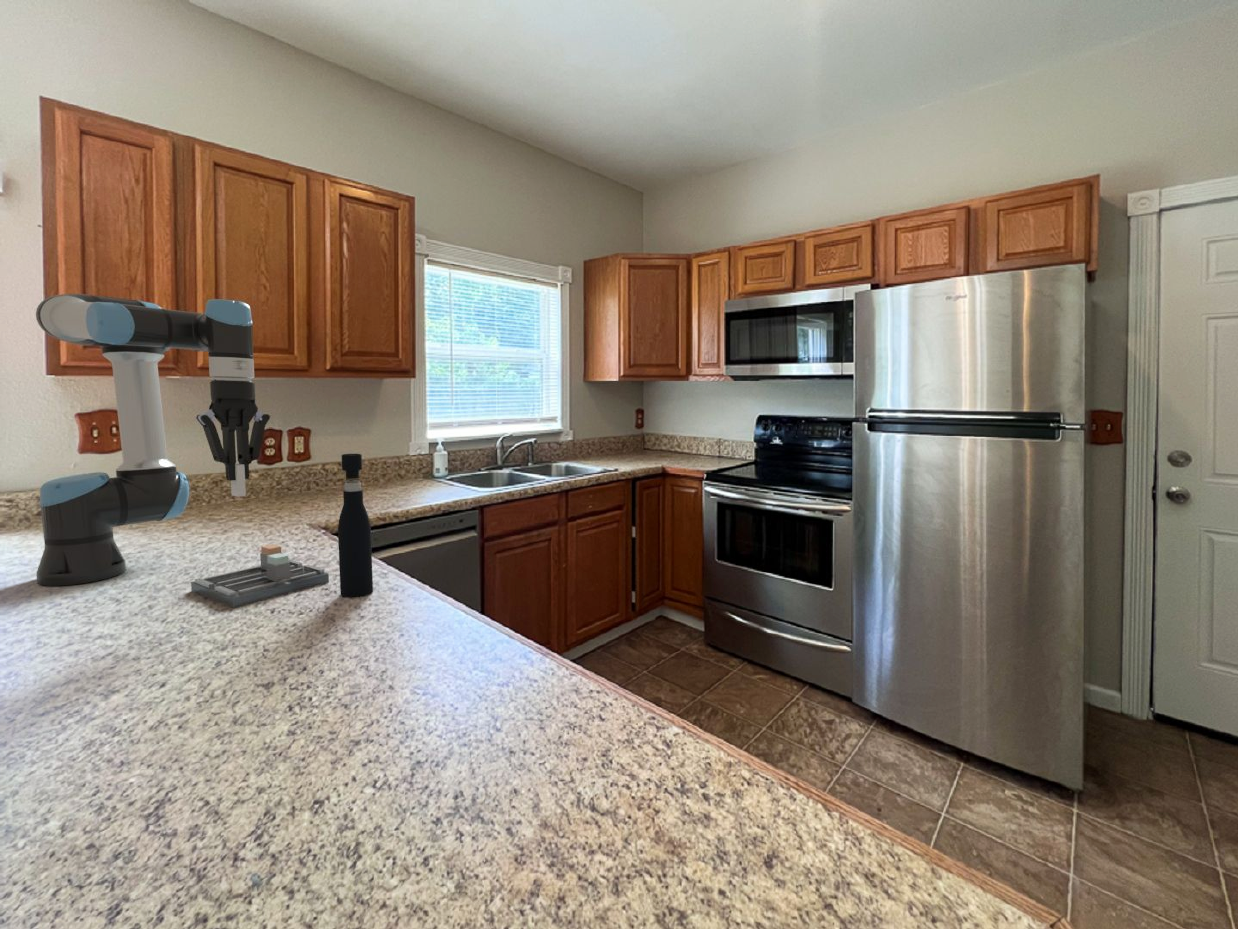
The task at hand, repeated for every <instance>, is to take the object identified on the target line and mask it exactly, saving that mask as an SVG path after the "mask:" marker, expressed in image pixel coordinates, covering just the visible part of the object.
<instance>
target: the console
mask: <svg viewBox="0 0 1238 929" xmlns="http://www.w3.org/2000/svg"><path fill="white" fill-rule="evenodd" d="M288 559H289V562H290V570H291V578H287V579H286V578H284V579H281V580H279V581H272V580H269V579H267V570H264V569H261V564H260V565H257V566H253V567H248V568H244V569H239V570H235V571H230V572H226V573H223V574H222V573H221V574H217V575H214V576H212V575H211V576H208V577H204V579H203V578H200V577H199V578H196V579H194V581H192V582H190V590H191V592H193V593H195V594H197V595H201V596H202V597H204V598H207V599H210V600H212V601H215V602H217V603H220V604H221V605H224V606H228V607H229V608H232V609H235V608H238V607H241V606H246V605H249V604H253V603H257V602H260V601H264V600H267V599H271V598H275V597H278V596H283V595H286V594H290V593H293V592H297V591H300V590H301V591H302V590H305V589H309V588H312V587H315V586H320V585H323V584H327V583H329V582H330V578H329V576H330V574H329V573H328V572H325V569H324V568H320V567H317V566H314V565H310V564H307V565H303V562H299V561H296V560H293V559H290V558H288Z"/></svg>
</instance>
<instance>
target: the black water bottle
mask: <svg viewBox="0 0 1238 929" xmlns="http://www.w3.org/2000/svg"><path fill="white" fill-rule="evenodd" d="M362 456H363V455H362V453H343V454H341V470H342V471H344V472H345V480H346V481H345V482H344V484H343V486H344V488H343V489H344V490H343V491H342V492H343V493H342V494H343V506H342V508H341V511H340V515H339V519H338V525H337V535H338V536H337V541H338V542H337V543H338V561H339V562H338V564H339V566H338V567H339V587H340V589H339V590H340V596H341V597H343V598H346V599H356V598H362V597H366V596H367V597H368V596H369V595H371V594H372V593H373V592H374V583H373V581H374V579H373V554H372V552H373V551H372V527H371V523H370V518H369V514H368V512H367V510H366V506H365V504H364V494H363V493H364V492H363V490H362V483H361V481H359V480H360V474H359V473H360V472H359V471H361V470H363V458H362Z"/></svg>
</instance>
